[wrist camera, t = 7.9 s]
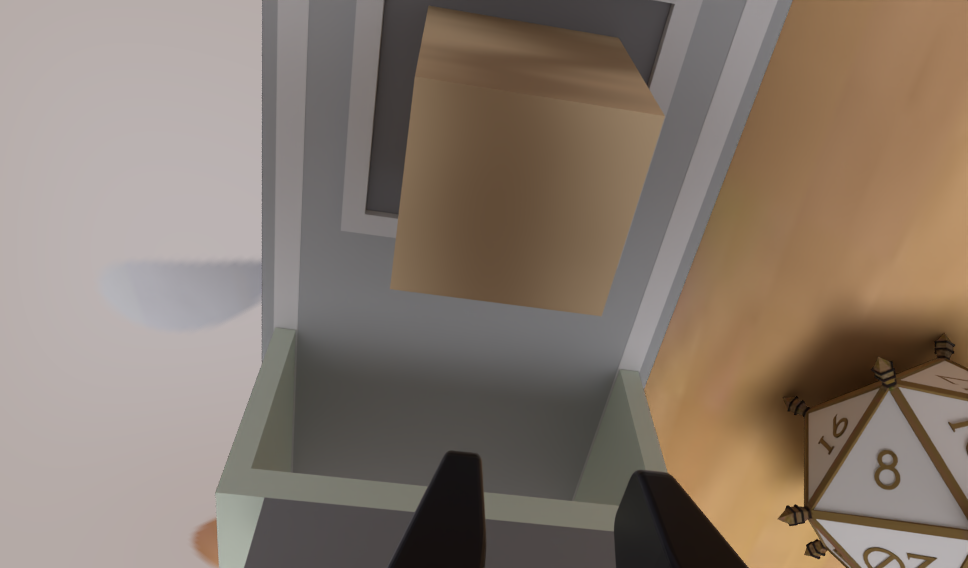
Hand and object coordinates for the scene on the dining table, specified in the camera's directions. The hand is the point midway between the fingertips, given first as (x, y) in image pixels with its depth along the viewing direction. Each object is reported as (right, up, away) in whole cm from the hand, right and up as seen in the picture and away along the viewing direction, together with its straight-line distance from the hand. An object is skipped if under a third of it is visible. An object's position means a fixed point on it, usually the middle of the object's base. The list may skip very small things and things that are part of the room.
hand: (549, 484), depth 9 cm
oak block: (0, +7, +10) cm, 12 cm away
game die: (+12, -1, +16) cm, 20 cm away
